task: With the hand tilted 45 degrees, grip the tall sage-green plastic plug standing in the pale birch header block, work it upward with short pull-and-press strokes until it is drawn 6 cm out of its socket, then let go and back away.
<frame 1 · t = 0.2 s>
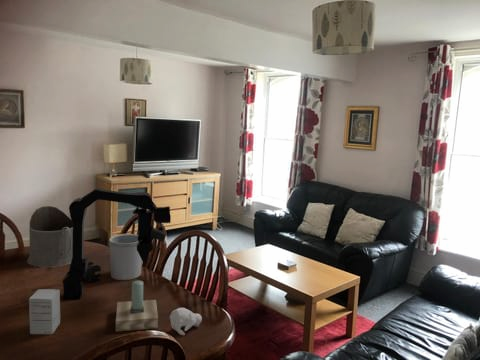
hand: (145, 260, 158), 14 cm above the table, tool pointing down, fingers open, 9 cm apart
supplement box: (45, 329, 130), on the table
pitcher: (57, 261, 189), on the table
white rounded figure: (186, 329, 135), on the table
header: (136, 320, 139), on the table
plug: (137, 301, 137), point 7 cm above the table, slide at 0.0 cm
end cap: (88, 279, 171), on the table
utensil holder: (125, 274, 178), on the table
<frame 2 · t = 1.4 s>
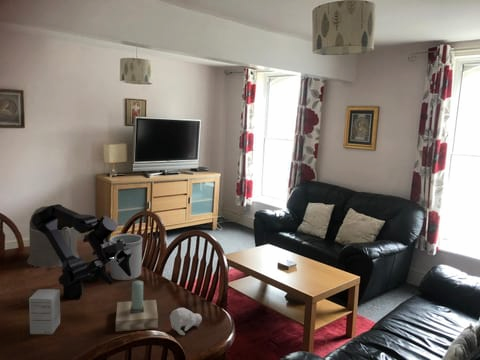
hand: (121, 280, 140), 13 cm above the table, tool tilted 45°, fingers open, 9 cm apart
nothing on the table moved.
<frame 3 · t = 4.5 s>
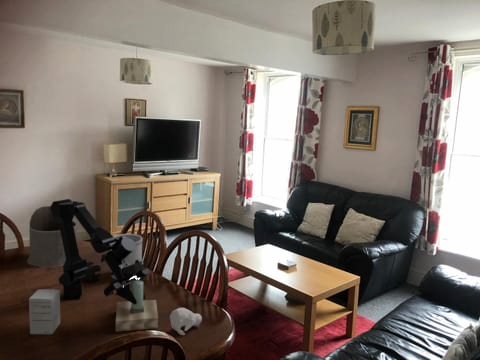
hand: (140, 301, 137), 8 cm above the table, tool tilted 45°, fingers closed on plug, 4 cm apart
plug: (137, 301, 137), point 7 cm above the table, slide at 0.0 cm, touching gripper
everything else where it was.
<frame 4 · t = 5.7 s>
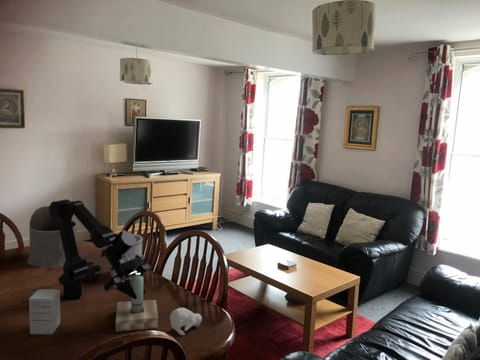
hand: (140, 296, 137), 9 cm above the table, tool tilted 45°, fingers closed on plug, 4 cm apart
plug: (137, 296, 137), point 9 cm above the table, slide at 1.9 cm, touching gripper
everything else where it was.
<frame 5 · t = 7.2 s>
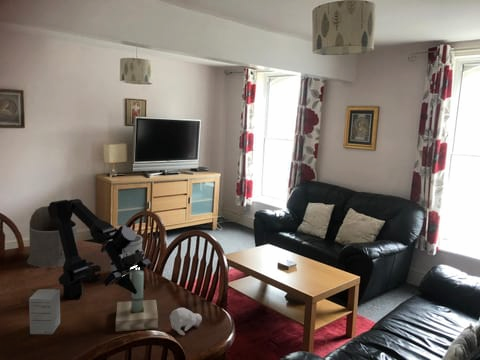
hand: (140, 291, 136), 11 cm above the table, tool tilted 45°, fingers closed on plug, 4 cm apart
plug: (137, 291, 137), point 11 cm above the table, slide at 3.8 cm, touching gripper
everything else where it was.
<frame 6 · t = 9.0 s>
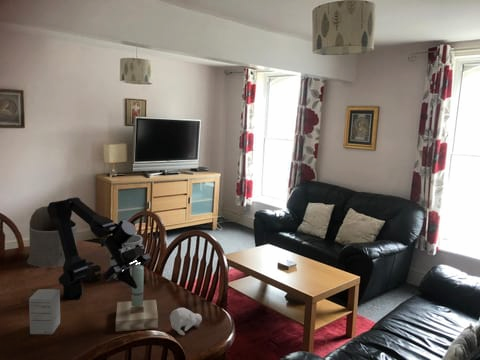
hand: (140, 286, 136), 13 cm above the table, tool tilted 45°, fingers closed on plug, 4 cm apart
plug: (137, 285, 137), point 13 cm above the table, slide at 5.9 cm, touching gripper
everything else where it was.
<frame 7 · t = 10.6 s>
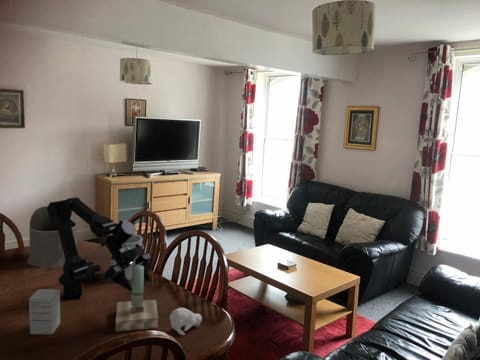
hand: (140, 285, 136), 14 cm above the table, tool tilted 45°, fingers open, 9 cm apart
plug: (137, 285, 137), point 13 cm above the table, slide at 5.9 cm
everything else where it was.
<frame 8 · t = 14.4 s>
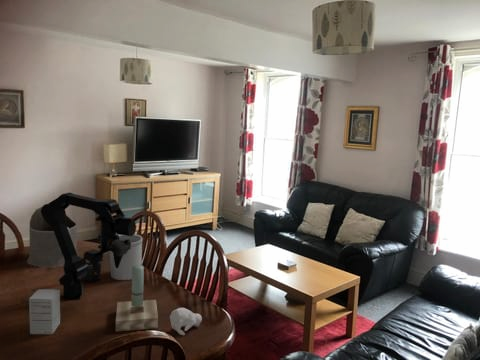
hand: (108, 271, 148), 13 cm above the table, tool pointing down, fingers open, 9 cm apart
nothing on the table moved.
at the end: plug slide at 5.9 cm; the gripper is holding nothing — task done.
